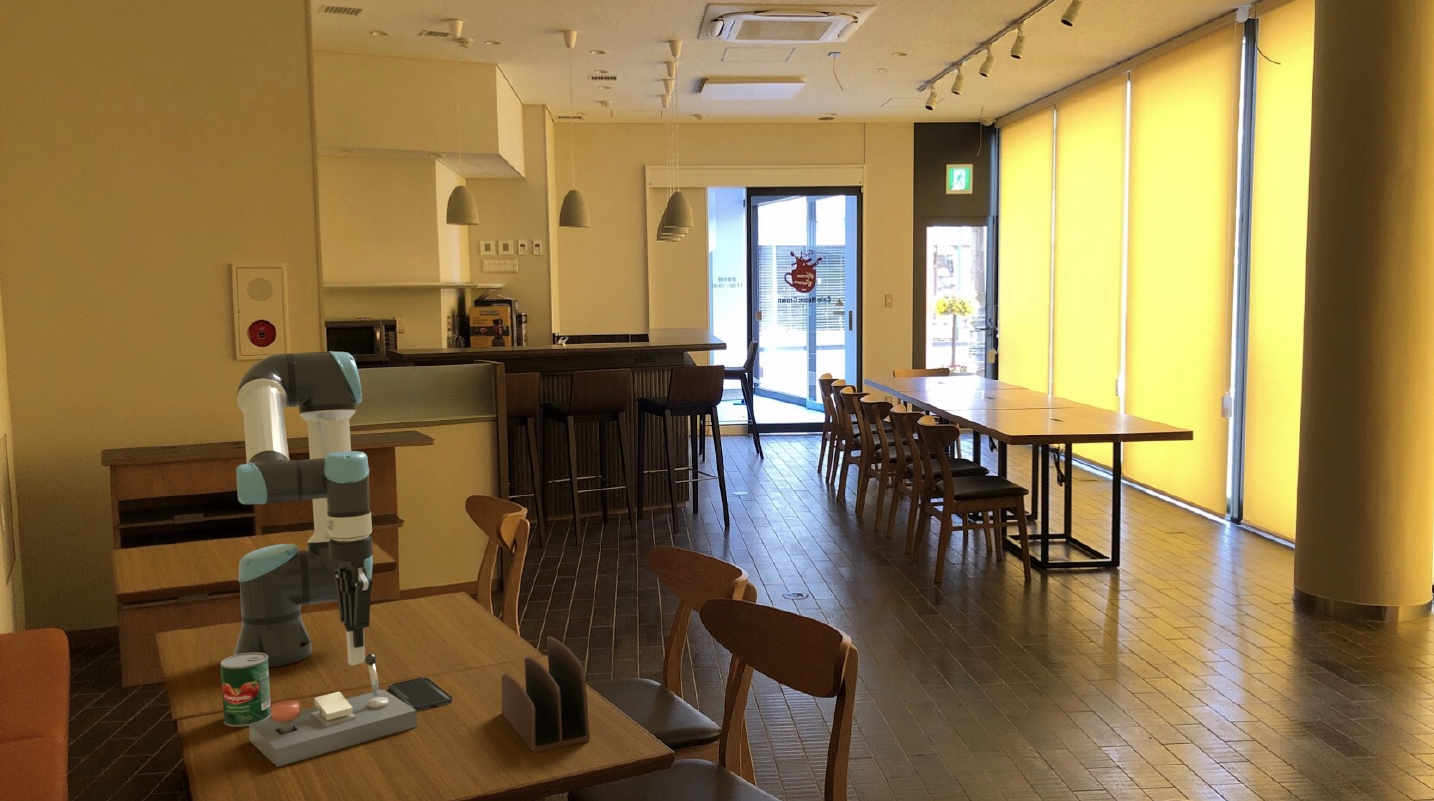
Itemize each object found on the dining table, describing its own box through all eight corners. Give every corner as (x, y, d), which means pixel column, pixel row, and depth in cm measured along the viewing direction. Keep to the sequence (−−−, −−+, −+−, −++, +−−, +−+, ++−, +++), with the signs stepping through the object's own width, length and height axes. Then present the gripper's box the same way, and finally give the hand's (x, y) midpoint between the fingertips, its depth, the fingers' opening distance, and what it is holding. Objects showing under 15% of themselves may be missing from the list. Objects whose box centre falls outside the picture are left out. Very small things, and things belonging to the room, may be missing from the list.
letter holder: (554, 703, 198) (551, 629, 197) (590, 742, 180) (587, 661, 179) (501, 713, 194) (498, 638, 192) (533, 754, 176) (529, 671, 175)
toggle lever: (369, 697, 190) (362, 655, 192) (380, 694, 192) (372, 653, 193) (373, 696, 189) (366, 654, 190) (384, 693, 190) (377, 652, 192)
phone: (425, 676, 211) (454, 698, 199) (426, 681, 211) (454, 704, 199) (386, 685, 207) (412, 708, 195) (386, 690, 207) (412, 714, 195)
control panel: (249, 740, 183) (248, 719, 183) (384, 704, 199) (383, 685, 198) (277, 766, 172) (275, 744, 172) (417, 726, 188) (416, 705, 188)
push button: (269, 733, 180) (267, 704, 180) (295, 726, 183) (293, 698, 183) (277, 741, 177) (276, 712, 177) (304, 733, 180) (303, 705, 179)
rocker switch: (314, 705, 186) (314, 697, 186) (339, 698, 189) (339, 691, 188) (327, 721, 182) (327, 714, 181) (352, 715, 184) (352, 707, 184)
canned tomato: (224, 730, 188) (220, 669, 187) (223, 714, 195) (219, 656, 194) (272, 721, 191) (269, 662, 190) (270, 707, 199) (267, 649, 198)
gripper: (316, 534, 197) (323, 658, 199) (343, 545, 187) (350, 676, 189) (356, 528, 202) (362, 649, 204) (384, 539, 192) (391, 666, 194)
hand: (356, 662), depth 197 cm, fingers closed
